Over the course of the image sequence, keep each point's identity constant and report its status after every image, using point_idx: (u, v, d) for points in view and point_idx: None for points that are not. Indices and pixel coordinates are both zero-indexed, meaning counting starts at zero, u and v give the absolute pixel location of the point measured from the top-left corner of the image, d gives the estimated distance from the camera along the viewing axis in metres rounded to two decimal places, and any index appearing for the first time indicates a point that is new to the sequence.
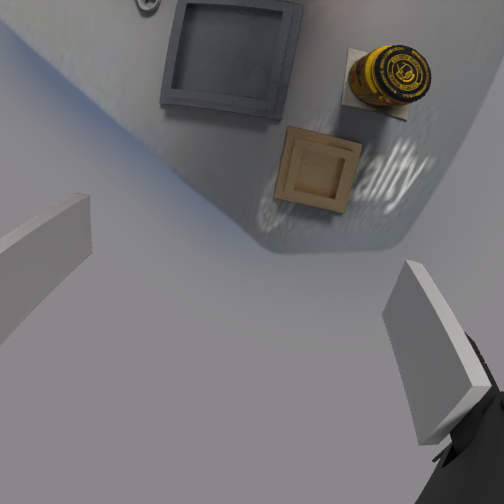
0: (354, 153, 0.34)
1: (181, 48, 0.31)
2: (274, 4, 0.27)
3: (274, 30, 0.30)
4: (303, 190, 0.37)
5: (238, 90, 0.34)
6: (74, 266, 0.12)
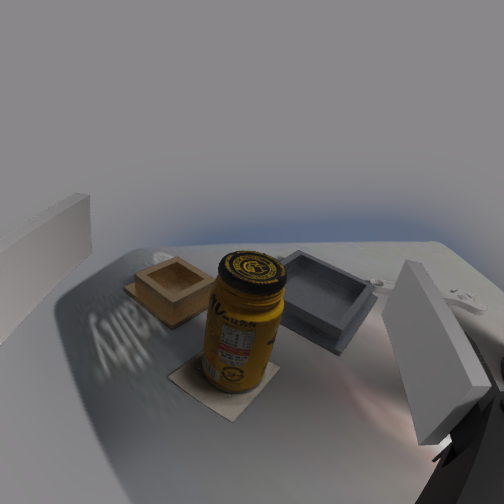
0: (173, 301, 0.33)
1: (328, 276, 0.46)
2: (347, 320, 0.35)
3: None
4: (169, 271, 0.40)
5: None
6: (74, 266, 0.12)
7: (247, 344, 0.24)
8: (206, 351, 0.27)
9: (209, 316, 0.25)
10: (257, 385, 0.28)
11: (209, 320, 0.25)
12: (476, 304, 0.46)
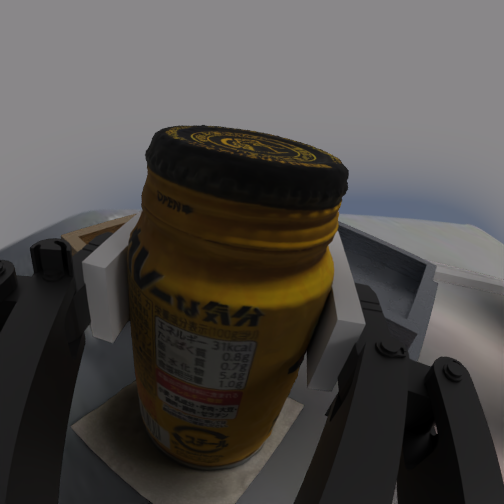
0: None
1: (369, 251, 0.30)
2: (419, 316, 0.19)
3: None
4: None
5: None
6: None
7: (234, 378, 0.08)
8: (137, 383, 0.10)
9: (129, 294, 0.09)
10: (259, 449, 0.12)
11: (130, 306, 0.09)
12: None
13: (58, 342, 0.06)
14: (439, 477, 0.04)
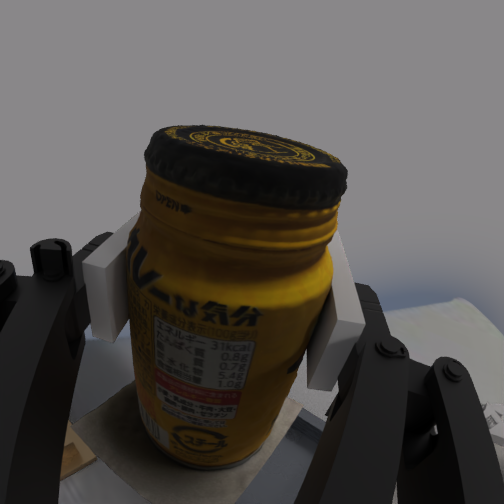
0: None
1: None
2: None
3: None
4: None
5: None
6: None
7: (232, 378, 0.08)
8: (136, 383, 0.10)
9: (128, 294, 0.09)
10: (258, 449, 0.12)
11: (129, 306, 0.09)
12: None
13: (58, 342, 0.06)
14: (439, 477, 0.04)
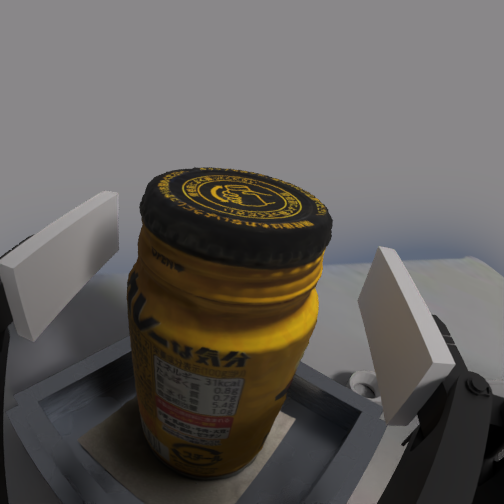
0: None
1: None
2: None
3: None
4: None
5: (109, 402, 0.14)
6: (103, 263, 0.12)
7: (225, 407, 0.08)
8: (139, 403, 0.11)
9: (129, 329, 0.09)
10: (252, 461, 0.13)
11: (130, 339, 0.09)
12: None
13: None
14: (501, 495, 0.04)
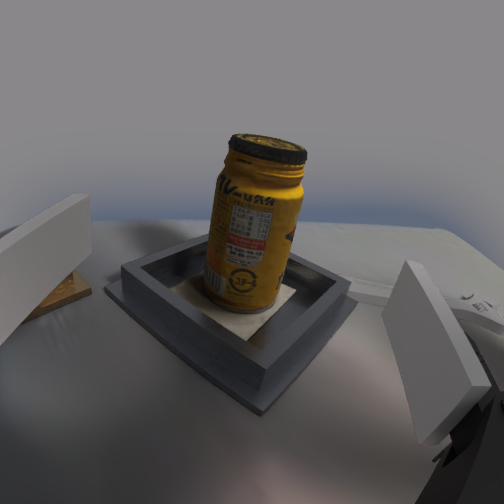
0: None
1: None
2: (282, 347, 0.18)
3: None
4: None
5: (178, 278, 0.26)
6: (74, 266, 0.12)
7: (263, 232, 0.20)
8: (210, 255, 0.23)
9: (216, 203, 0.21)
10: (271, 305, 0.24)
11: (216, 208, 0.21)
12: (501, 318, 0.27)
13: None
14: None
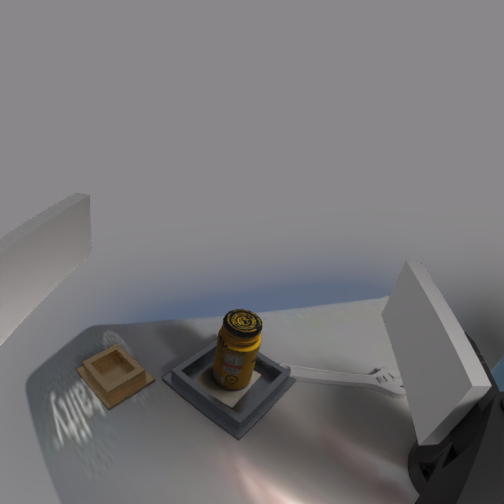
0: (107, 391, 0.38)
1: None
2: (248, 412, 0.40)
3: None
4: (111, 356, 0.45)
5: (199, 370, 0.48)
6: (74, 266, 0.12)
7: (240, 363, 0.42)
8: (216, 366, 0.45)
9: (218, 347, 0.43)
10: (246, 385, 0.46)
11: (218, 349, 0.43)
12: (396, 387, 0.49)
13: None
14: None
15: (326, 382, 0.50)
